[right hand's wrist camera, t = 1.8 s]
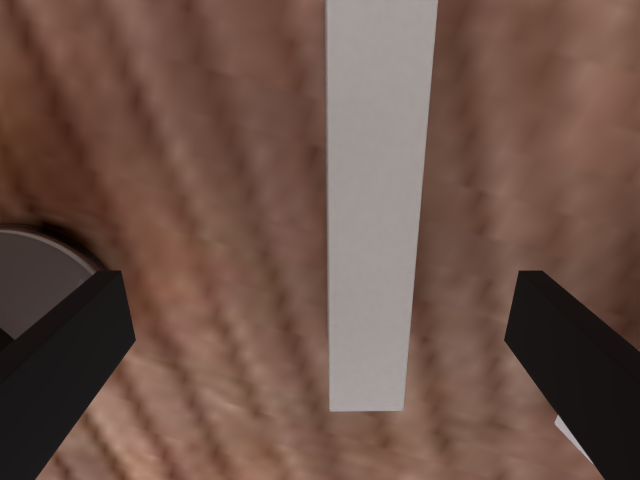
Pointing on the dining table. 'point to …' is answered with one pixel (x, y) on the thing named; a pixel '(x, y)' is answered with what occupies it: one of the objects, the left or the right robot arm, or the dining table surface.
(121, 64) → the dining table surface
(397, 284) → the bar
